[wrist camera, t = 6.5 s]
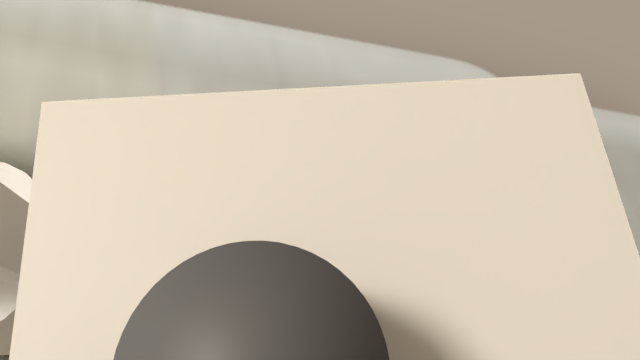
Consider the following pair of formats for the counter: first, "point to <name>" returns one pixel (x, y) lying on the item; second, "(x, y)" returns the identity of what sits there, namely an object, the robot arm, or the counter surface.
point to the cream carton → (329, 227)
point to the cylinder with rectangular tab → (11, 244)
